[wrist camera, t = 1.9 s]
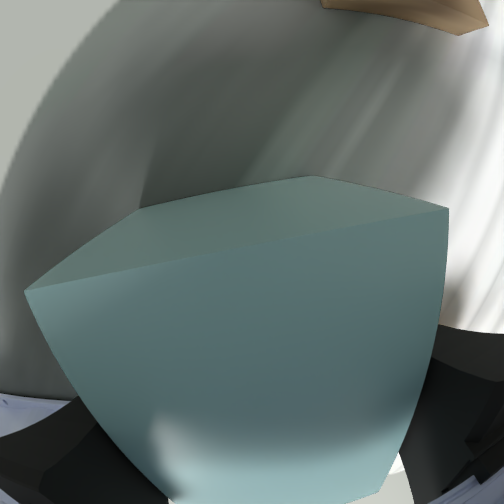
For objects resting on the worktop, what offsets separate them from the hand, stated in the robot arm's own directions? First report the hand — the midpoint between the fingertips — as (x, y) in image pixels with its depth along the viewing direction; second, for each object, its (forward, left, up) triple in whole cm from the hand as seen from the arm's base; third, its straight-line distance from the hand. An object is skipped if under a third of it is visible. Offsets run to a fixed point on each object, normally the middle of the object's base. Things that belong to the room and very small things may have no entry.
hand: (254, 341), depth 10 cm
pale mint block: (0, 0, -2) cm, 2 cm away
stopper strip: (+9, +13, -2) cm, 16 cm away
